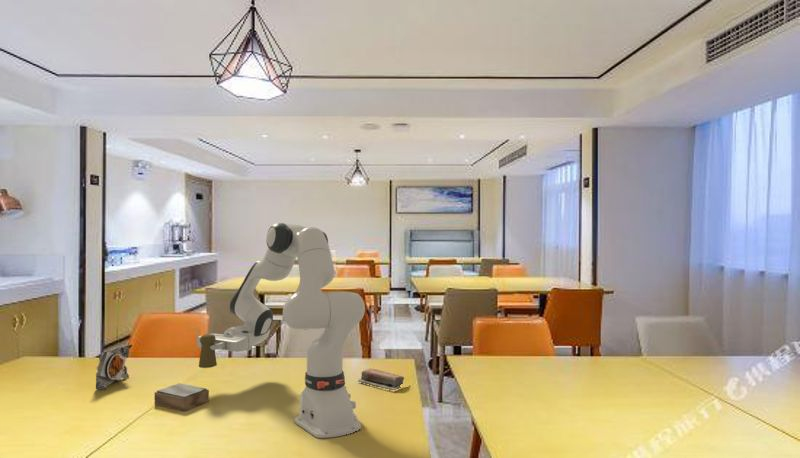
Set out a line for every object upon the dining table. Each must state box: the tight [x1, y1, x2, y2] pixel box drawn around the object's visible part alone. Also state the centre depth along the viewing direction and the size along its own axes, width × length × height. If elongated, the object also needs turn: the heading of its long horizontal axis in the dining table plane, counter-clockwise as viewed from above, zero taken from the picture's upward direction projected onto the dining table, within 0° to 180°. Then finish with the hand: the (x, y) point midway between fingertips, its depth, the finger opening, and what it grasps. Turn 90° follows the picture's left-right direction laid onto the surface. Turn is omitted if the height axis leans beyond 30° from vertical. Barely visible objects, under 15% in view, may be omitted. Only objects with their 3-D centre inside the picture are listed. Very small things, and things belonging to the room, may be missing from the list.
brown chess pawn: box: [198, 333, 218, 369], centre depth 178 cm, size 6×6×11 cm
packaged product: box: [357, 368, 405, 390], centre depth 189 cm, size 18×5×10 cm
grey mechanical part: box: [95, 344, 133, 391], centre depth 188 cm, size 15×4×13 cm, turn 175°
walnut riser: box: [154, 382, 210, 412], centre depth 168 cm, size 10×14×4 cm
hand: (205, 346), depth 177 cm, fingers closed on brown chess pawn, 4 cm apart
